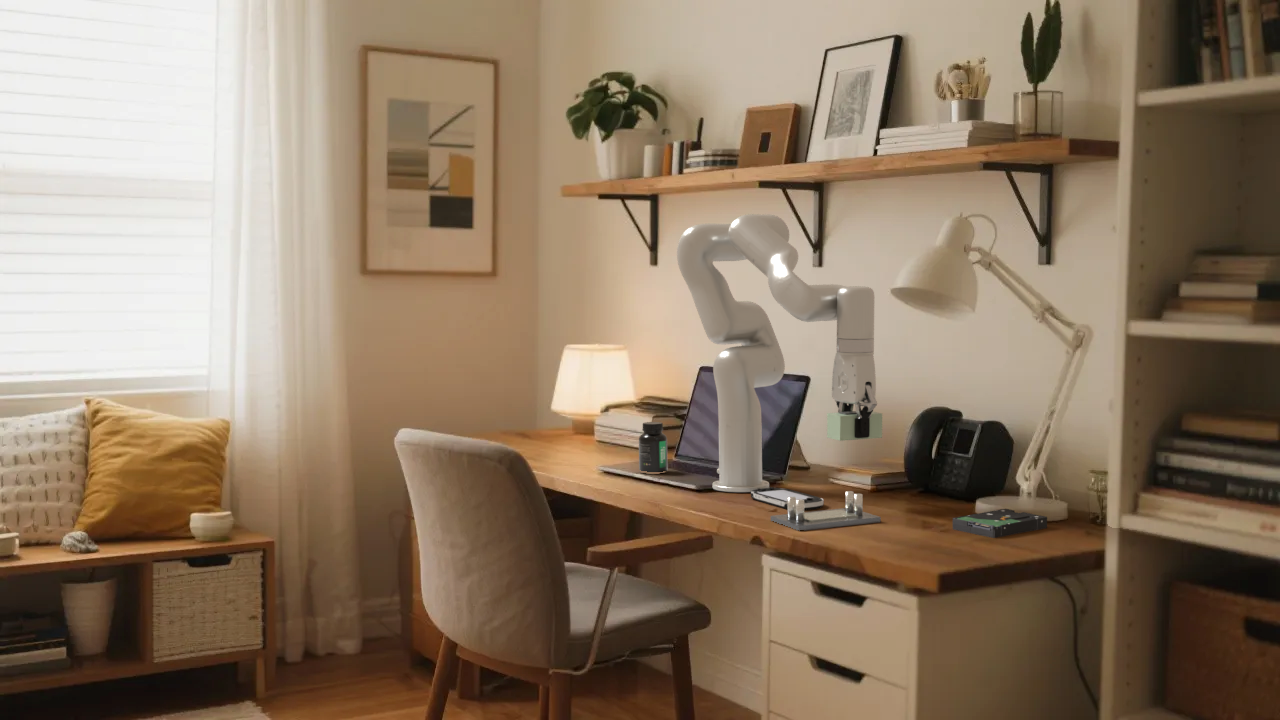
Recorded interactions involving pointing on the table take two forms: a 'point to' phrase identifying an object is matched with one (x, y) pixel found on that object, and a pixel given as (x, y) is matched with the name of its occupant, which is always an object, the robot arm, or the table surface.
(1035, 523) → the disk drive
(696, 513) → the table surface
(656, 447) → the supplement bottle
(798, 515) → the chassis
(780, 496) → the gaming console
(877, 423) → the block
